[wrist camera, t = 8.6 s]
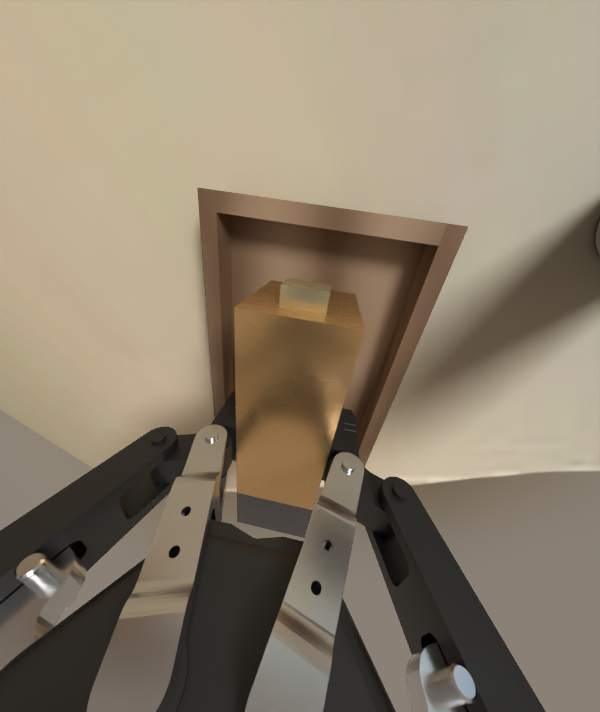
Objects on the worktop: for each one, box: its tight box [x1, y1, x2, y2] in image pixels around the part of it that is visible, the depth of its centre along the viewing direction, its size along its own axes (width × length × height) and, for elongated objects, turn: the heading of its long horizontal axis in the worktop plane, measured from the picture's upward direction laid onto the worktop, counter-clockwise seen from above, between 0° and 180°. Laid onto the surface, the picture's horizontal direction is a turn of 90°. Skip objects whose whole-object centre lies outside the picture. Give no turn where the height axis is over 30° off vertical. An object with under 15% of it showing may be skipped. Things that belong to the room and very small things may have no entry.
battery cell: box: [234, 278, 365, 537], centre depth 12 cm, size 4×14×4 cm, turn 172°
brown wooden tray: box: [198, 188, 468, 467], centre depth 18 cm, size 14×20×2 cm
